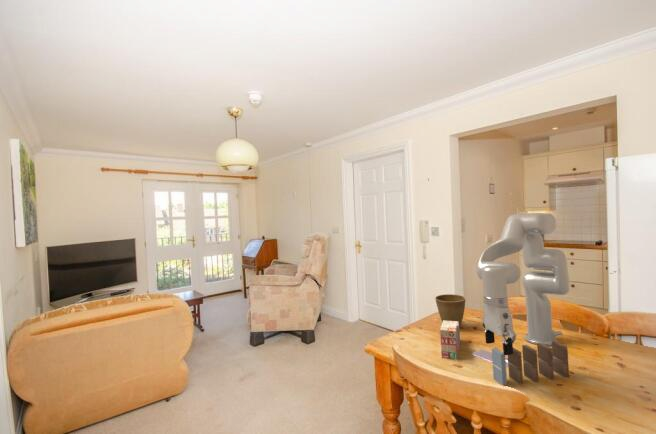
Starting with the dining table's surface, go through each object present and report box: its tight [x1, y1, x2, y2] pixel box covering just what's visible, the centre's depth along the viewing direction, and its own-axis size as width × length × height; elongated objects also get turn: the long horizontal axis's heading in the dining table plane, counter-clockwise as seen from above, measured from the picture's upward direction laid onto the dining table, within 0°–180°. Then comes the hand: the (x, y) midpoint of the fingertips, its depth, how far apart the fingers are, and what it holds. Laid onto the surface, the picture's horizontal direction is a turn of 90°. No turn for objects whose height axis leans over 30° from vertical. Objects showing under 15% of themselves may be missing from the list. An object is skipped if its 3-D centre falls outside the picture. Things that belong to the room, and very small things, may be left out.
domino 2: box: [507, 347, 524, 385], centre depth 113 cm, size 2×5×11 cm, turn 7°
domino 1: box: [491, 347, 508, 387], centre depth 113 cm, size 2×5×11 cm, turn 7°
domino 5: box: [551, 341, 570, 379], centre depth 116 cm, size 2×5×11 cm, turn 7°
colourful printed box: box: [439, 320, 461, 361], centre depth 142 cm, size 21×6×12 cm, turn 154°
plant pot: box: [434, 293, 466, 330], centre depth 168 cm, size 15×15×16 cm
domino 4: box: [536, 343, 555, 381], centre depth 115 cm, size 2×5×11 cm, turn 7°
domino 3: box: [521, 344, 540, 383], centre depth 114 cm, size 2×5×11 cm, turn 7°
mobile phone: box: [471, 349, 508, 368], centre depth 131 cm, size 8×1×15 cm
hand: (498, 348), depth 113 cm, fingers open, 9 cm apart
